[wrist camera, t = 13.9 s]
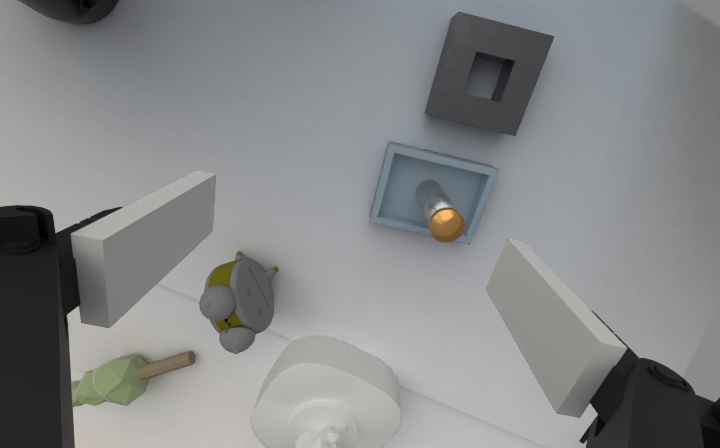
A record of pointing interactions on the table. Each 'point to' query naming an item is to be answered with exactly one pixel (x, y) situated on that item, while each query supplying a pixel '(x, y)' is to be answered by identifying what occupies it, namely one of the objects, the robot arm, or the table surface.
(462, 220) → the steel pin
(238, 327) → the alarm clock
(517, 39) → the block
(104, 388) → the decorative object
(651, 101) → the table surface
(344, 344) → the tissue box
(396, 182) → the tray
